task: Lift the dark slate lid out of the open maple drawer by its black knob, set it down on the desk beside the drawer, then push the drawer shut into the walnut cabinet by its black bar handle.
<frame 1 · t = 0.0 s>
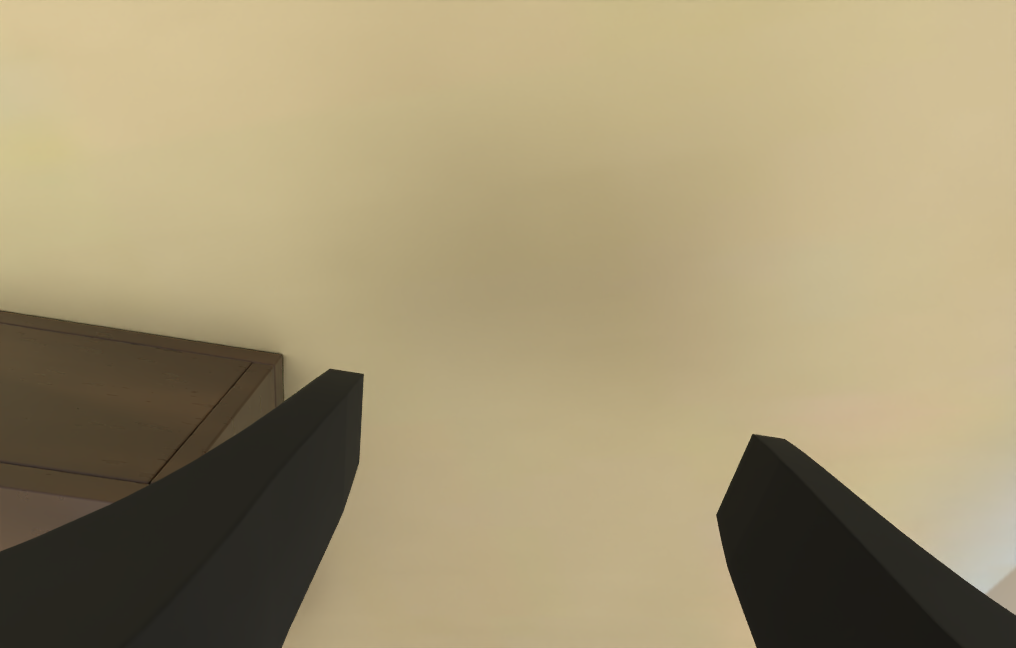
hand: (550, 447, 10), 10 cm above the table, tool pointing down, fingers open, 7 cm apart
cabinet: (126, 475, 25), on the table
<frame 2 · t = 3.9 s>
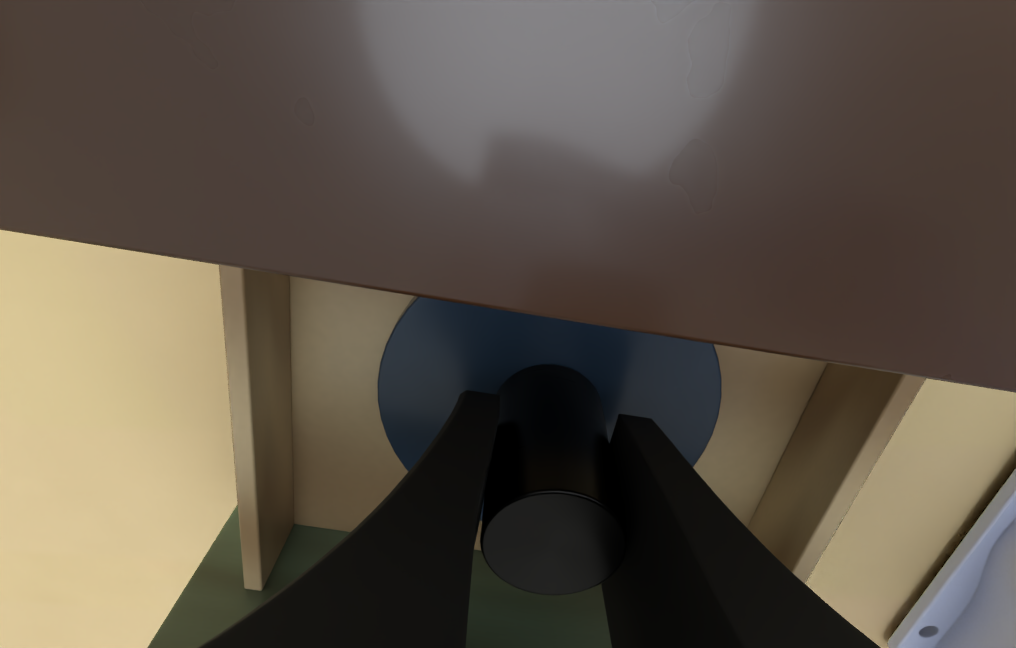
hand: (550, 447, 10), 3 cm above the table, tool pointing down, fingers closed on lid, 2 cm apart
lid: (546, 395, 12), point 2 cm above the table, touching drawer, gripper
drawer: (550, 487, 10), point 4 cm above the table, slide at 9.5 cm, touching lid
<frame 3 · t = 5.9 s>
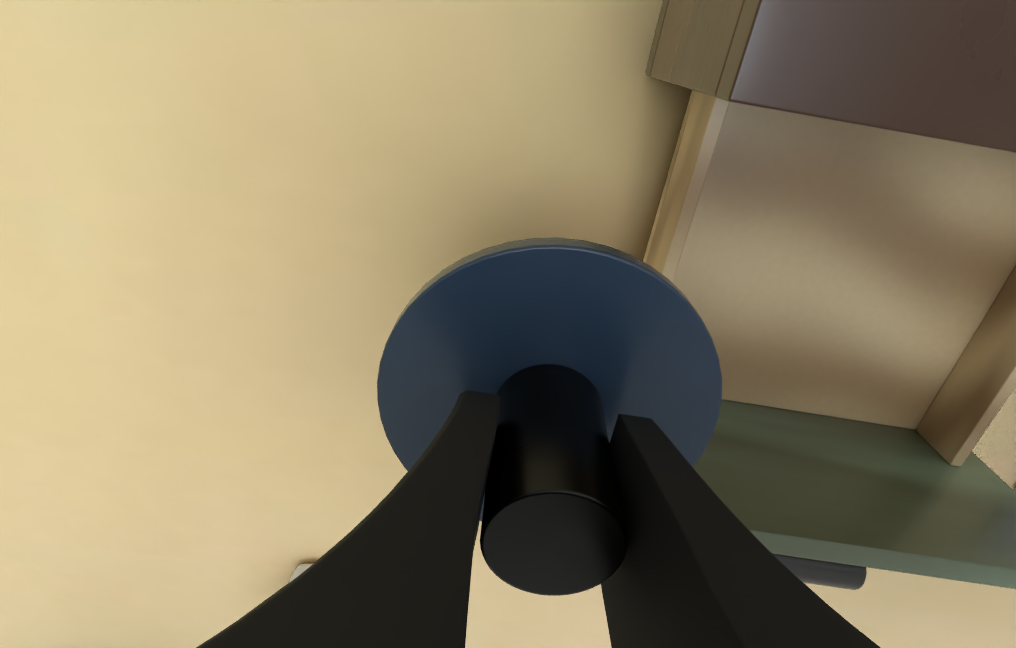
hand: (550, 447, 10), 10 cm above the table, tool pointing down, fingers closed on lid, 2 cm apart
lid: (546, 395, 12), point 8 cm above the table, touching gripper
drawer: (871, 321, 16), point 4 cm above the table, slide at 9.5 cm
when the fingers open (2 cm above the table, at t = 8.3 s): lid stays where it is, on the table.
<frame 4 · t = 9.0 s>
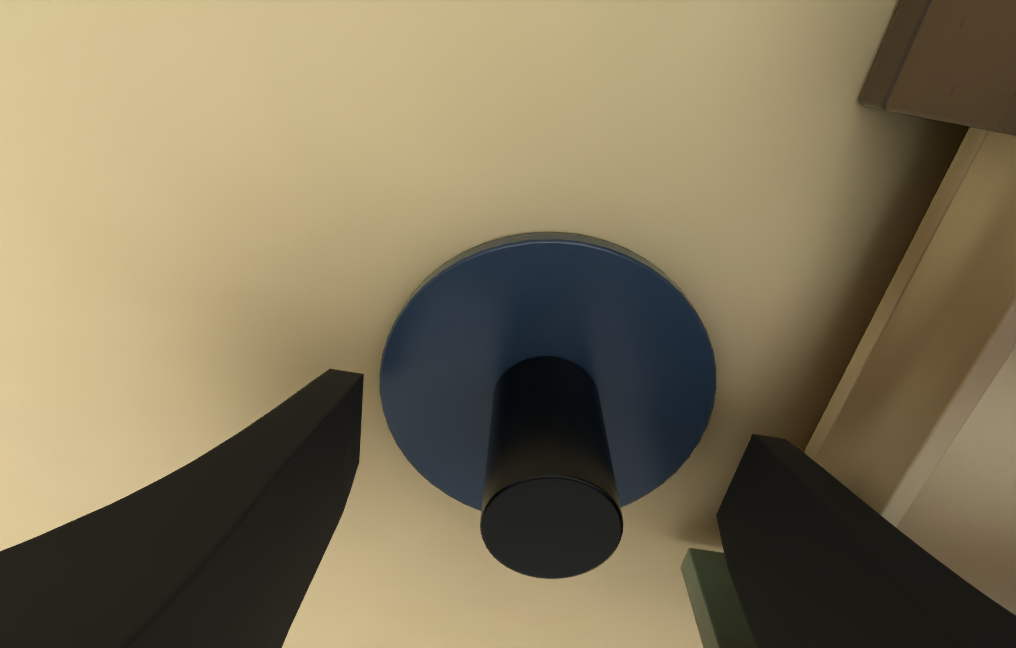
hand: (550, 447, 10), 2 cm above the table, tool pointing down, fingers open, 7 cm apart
lid: (545, 387, 12), on the table
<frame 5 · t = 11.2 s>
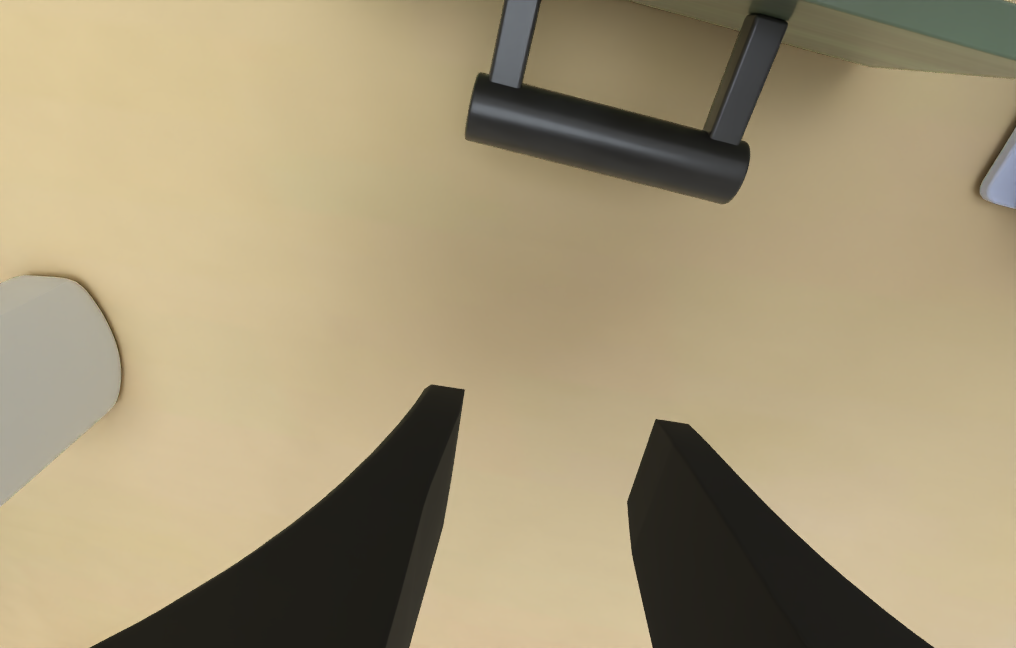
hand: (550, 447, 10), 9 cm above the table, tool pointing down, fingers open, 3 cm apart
eye dropper bottle: (78, 338, 21), on the table
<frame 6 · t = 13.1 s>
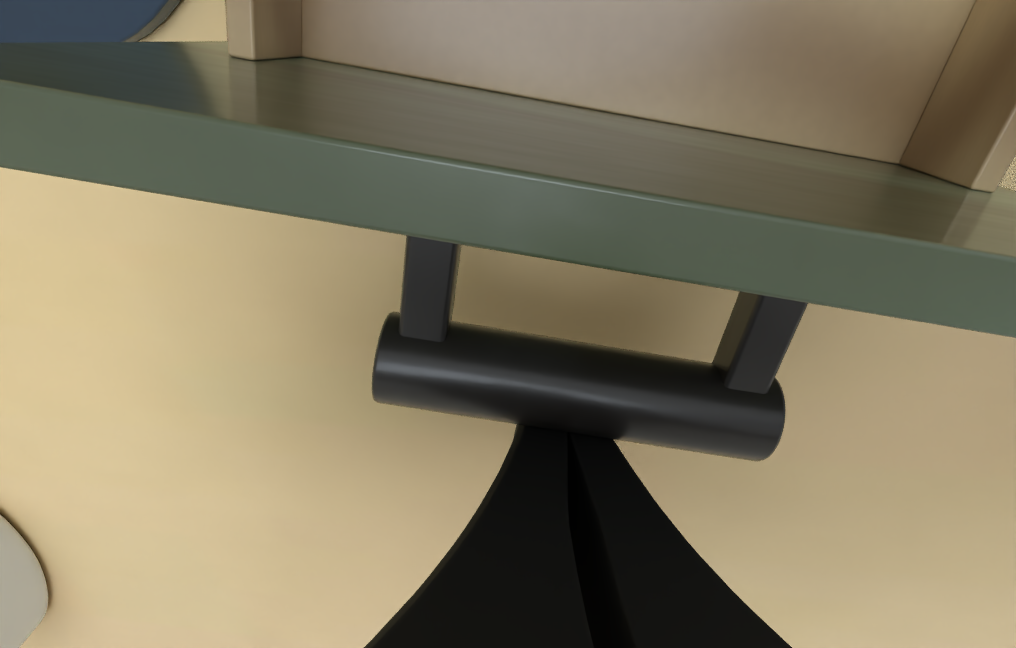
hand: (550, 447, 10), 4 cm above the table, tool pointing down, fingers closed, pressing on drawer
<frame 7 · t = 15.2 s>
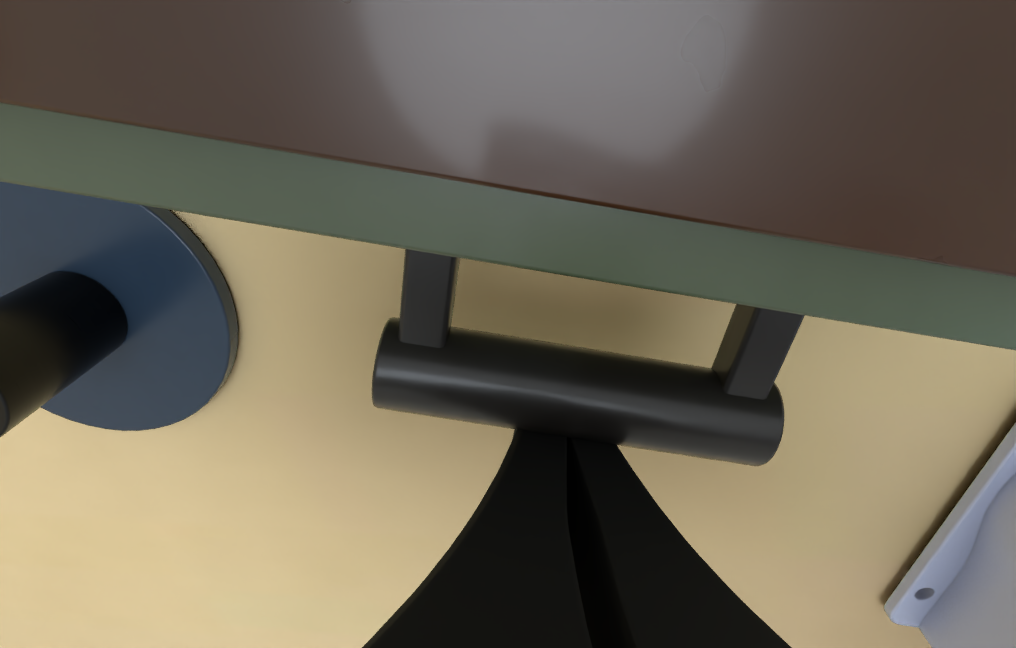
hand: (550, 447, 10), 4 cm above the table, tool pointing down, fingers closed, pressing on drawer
lid: (95, 304, 14), on the table
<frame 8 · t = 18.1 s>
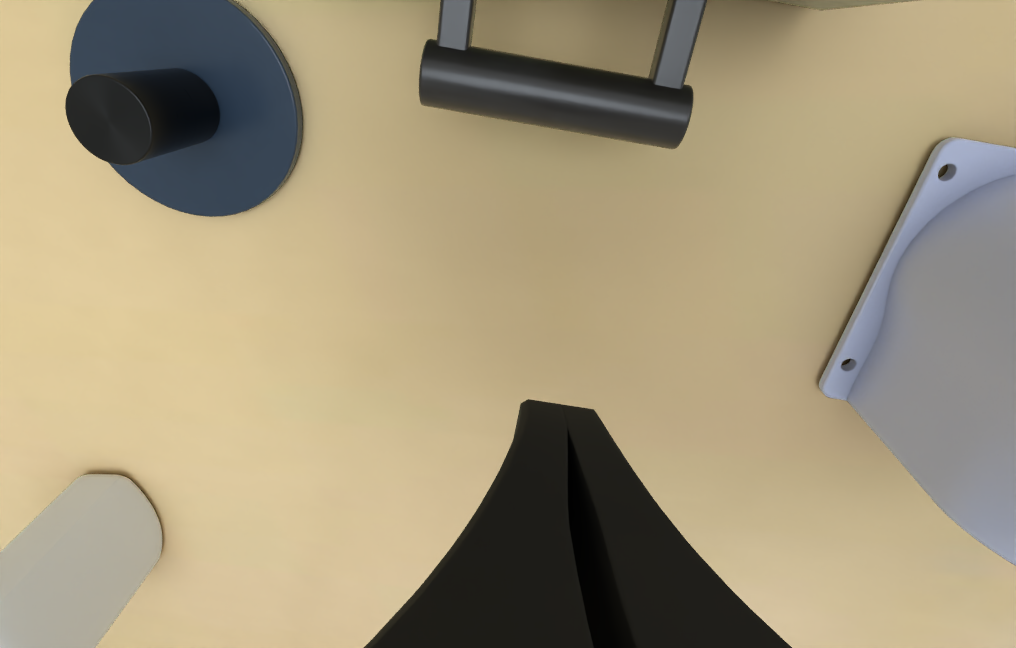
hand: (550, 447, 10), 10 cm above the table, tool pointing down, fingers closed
lid: (193, 105, 18), on the table
eye dropper bottle: (127, 511, 27), on the table
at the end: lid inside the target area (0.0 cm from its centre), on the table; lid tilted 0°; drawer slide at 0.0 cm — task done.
